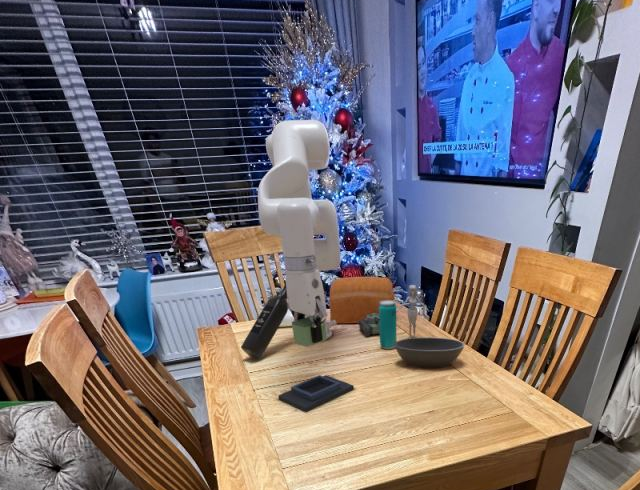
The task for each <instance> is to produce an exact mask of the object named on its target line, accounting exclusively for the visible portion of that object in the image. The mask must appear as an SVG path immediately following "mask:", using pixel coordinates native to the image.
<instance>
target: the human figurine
mask: <svg viewBox="0 0 640 490" xmlns="http://www.w3.org/2000/svg"><path fill="white" fill-rule="evenodd" d="M417 293H418V287H417V285H415V284H410V285H408V296H407V298H406V299H405V300H404V303H401V305H400V307H399V308H397V309H396V314H397V313H398V312H399V311H400V310H401V309H402V308H403V307H404V306H405V305H406V304H407V303H408V302H409V305H410V306H409V307H408V308H407V311H406V312H407V317H408V323H409V324H408V335H409V338H416V327H417V324H416V322H417V319H418V313H419V312H418V308H417V307H416V305H417V304H418V303H420V305H421V306H423V308H424V309H426V310H427V311H428V312H430V310H429V309H428V307H426V305H425V303H424V302H422V301H421V300H420V298H419V297H418V295H417ZM412 329H413V330H412ZM412 332H413V337H412ZM409 338H408V339H409Z"/></svg>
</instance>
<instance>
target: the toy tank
mask: <svg viewBox="0 0 640 490" xmlns="http://www.w3.org/2000/svg"><path fill="white" fill-rule="evenodd" d="M358 327H359V331H360V332H361V333H362V335H364V337H366V338H369V337H370V336H371V335H380V323H379V314H377V313H372V314H369V315H367V317H366V318H364V320H360V321H359V323H358Z"/></svg>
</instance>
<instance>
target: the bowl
mask: <svg viewBox="0 0 640 490" xmlns="http://www.w3.org/2000/svg"><path fill="white" fill-rule="evenodd" d="M394 345H395V348H394V349H395V350H396V352H397V354H398V356H399V357H400V359H401V360H402V361H403V362H404V363H405V364H406V365H407V366H410V367H415V368H423V369H425V368H426V369H427V368H428V369H429V368H430V369H431V368H433V369H434V368H435V369H437V368H445V367H449V366H451V365H452V364H453V363H454V362H455V361H456V360H457V359H458V358H459V356H460V355H461V353H462V352H463V350H464V347H465V343H464V342H463V341H461V340H457V339H454V338H453V339H452V338H445V337H444V338H443V337H415V338H413V337H411V338H404V339H399V340H397V342H395V343H394Z"/></svg>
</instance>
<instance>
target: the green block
mask: <svg viewBox="0 0 640 490" xmlns="http://www.w3.org/2000/svg"><path fill="white" fill-rule="evenodd" d="M314 320H316V317H315V316H314ZM311 327H312V325H311V322H310V318H309V317H306V318H303V319H300V320H296V321H293V322H292V326H291V328H292V334H293V340H294V344H296V345H300V346H302V347H305V348H309V347H311V346H314V345H318V344H320V343H323V342H325V341H327V339H328V338H326V329H325V320H324V321H323V325H322V326H321V328H322V337H323V340H322V341H320V342H317V343H313V342H312V336H311Z"/></svg>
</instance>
